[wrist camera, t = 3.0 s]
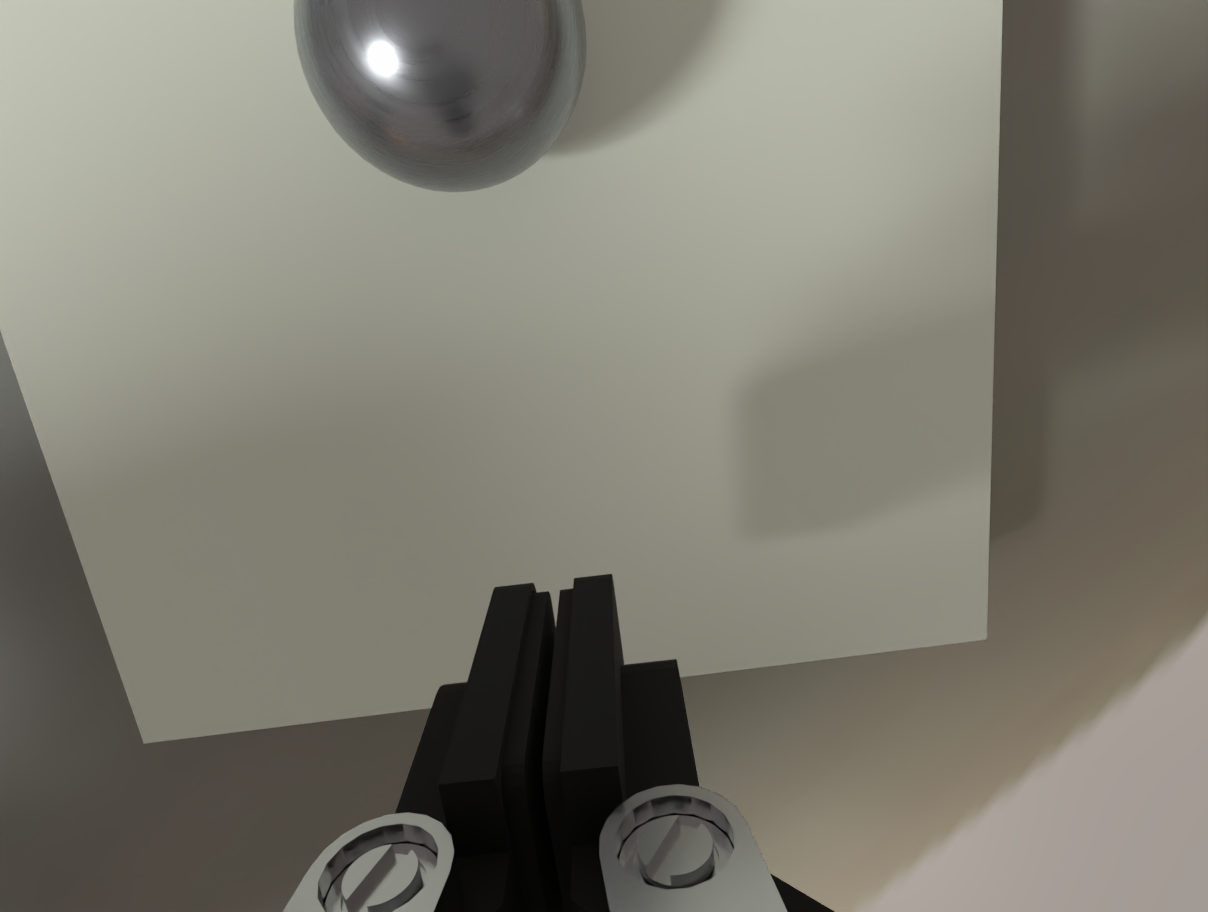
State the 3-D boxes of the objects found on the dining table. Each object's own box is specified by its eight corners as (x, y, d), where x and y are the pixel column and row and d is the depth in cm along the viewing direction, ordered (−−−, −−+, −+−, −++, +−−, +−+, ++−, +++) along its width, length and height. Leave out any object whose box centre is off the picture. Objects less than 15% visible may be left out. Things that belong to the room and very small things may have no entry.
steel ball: (599, 182, 13) (607, 163, 9) (372, 211, 13) (287, 203, 9) (568, -83, 12) (562, -228, 8) (320, -50, 12) (200, -179, 8)
